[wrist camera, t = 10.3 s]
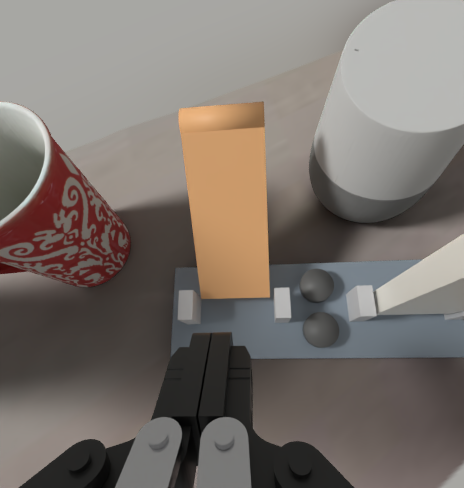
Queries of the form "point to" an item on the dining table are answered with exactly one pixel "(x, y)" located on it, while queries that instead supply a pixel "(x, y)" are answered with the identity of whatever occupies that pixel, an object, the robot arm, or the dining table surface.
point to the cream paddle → (427, 285)
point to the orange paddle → (228, 198)
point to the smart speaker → (392, 111)
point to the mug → (52, 209)
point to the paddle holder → (316, 315)
